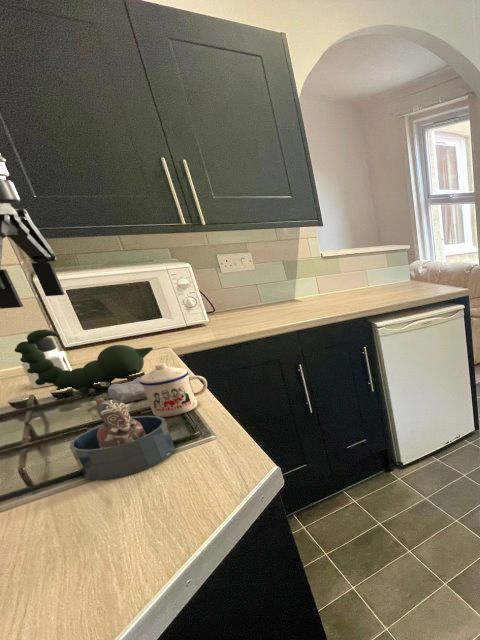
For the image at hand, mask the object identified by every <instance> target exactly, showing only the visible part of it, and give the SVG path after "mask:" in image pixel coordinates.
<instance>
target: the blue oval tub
mask: <svg viewBox="0 0 480 640" xmlns="http://www.w3.org/2000/svg"><path fill="white" fill-rule="evenodd" d="M131 418H132V419H135V420H137V421H138V422H139V423H140V424H141V425H142V427H143V429H144V431H145V433H146V435H145V436H143V437H140V438H138V439H136V440H133V441H129V442H126V443H123V444H120V445H116V446H111V447H107V448H100V446H99V442H98V438H97V433H98V430H99V428H100V426H101V425H100V426H96V427H94V428H92V429H89V430H87V431H85V432H83V433H82V434H80V435H78V436H76V437H75V438H74V439H73V440H72V441H70V444H69V449H70V451H71V453H72V455H73V457H74V459H75V462H76V463H77V466H78V467H79V469H80V472H81V473H82V475H83V476H84V477H85V478H87V479H89V480H95V481H105V480H113V479H119V478H123V477H126V476H130V475H133V474H136V473H140V472H142V471H144V470H147V469H150V468H151V467H154V466H156V465H158V464H160V463H162V462H163V461H165V460H166V459H168V458H169V457H170V456H171V455H172V454H173V453H174V451H175V448H176V447H175V444H174V441H173V437H172V436H171V432H170V430H169V428H168V425H167V423H166V420H165V417H159V416H155V415H143V416H133V417H131Z"/></svg>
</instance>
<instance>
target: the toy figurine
mask: <svg viewBox="0 0 480 640" xmlns="http://www.w3.org/2000/svg"><path fill="white" fill-rule="evenodd" d="M45 337H55V338H59V337H60V333H58V332H56V331H55V330H49V329H38V330H34V331H32V332H30V333H28V334H27V336H26V339H27V341H24V342H21V341H19V342H20V343H18V344H17V345H16V347H15V348H14V352H15V353H18V354H21V357H20V358H19V360H20V362H21V363H22V362H24V363H29V364H30V365H29V367H30V368H29V369H28V370H27V372H28V373H30V374H33V373H37V374H38V377H39V378H38V379H37V380H36V381H35V383H36V384H37V385H44V384H45V382H46V383H52V384H54V385H53V386H55V387H57V388H56V389H55V391H56V390H60V389H64V388H67V387H72V388H73V389H72V390H76V391H78V392H79V393H80V394H83V395H85V394H88V393H90V390H92V389H93V388H95V387H93V384H94V383H98V382H109V383H110V385H112V382H113V381H115V379H117V380H124V379H128V378H127V376H129V375H132V374H136V373H139V372H140V373H141V371H142V370H143V369H144V364H145V360H144V358H145V357H146V356H147V355H149V354H150V353H151V352H152V351H153V350H154V348H153V347H151V346H150V347H141V348H135V347H132V346H130V345H127V344H126V345H125V344H113V345H110V346H107V347H106V348H104V349H103V350H101V351H100V352H99V354H98V356H97V359H96V360H92V361H89V362H87V363H86V364H85V365H83V367H76V368H74V369H72V370H71V371H69V370H62V369H61V368H59V367H57V366H54V364H53V362H52V361H51V360H49V359H46V358H45V357H46V356H45V354H44V353H43V352H42V351H40V350H38V348H37V345H36V344H35V343H38V342H40V341H41V340H42V339H43V338H45ZM129 382H131V381H129ZM109 387H110V386H109ZM109 387H105V388H102V389H104V390H105V389H109Z"/></svg>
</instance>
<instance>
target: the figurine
mask: <svg viewBox="0 0 480 640" xmlns="http://www.w3.org/2000/svg"><path fill="white" fill-rule="evenodd" d="M95 401H96V404H97V409H96V411H97V414H98V416H99V417H100V419H101V420H102V422H103V423H102V424H101V425H100V428H99V430H98V433H97V438H98V442H99V446H100V448H107V447H111V446H116V445H120V444H123V443H126V442H129V441H133V440H136V439H138V438H140V437H143V436H145V435H146V433H145V431H144V429H143V427H142V425H141V424H140V423H139V422H138V421H137V420H135V419H132V418H133V417H131V414H130V412H129V411H128V409H127V407H126V404H125V403H121V402H120V401H117V400H114V399H108V400H105V399H104V398H98V399H96V400H95Z"/></svg>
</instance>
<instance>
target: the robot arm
mask: <svg viewBox="0 0 480 640" xmlns="http://www.w3.org/2000/svg"><path fill="white" fill-rule="evenodd" d="M6 161H7V159H6V158H5V157H3V156H2V155H1V154H0V310H1V309H3V310H4V309H15V308H23V307H24V304H23V302H22V301H21V298H20V296H19V294H18V292H17V290H16V288H15V284H14V283H13V281H12V279H11V277H10V274H9V272H8V270H7V269H6V268H3V269H2V258H3V257H2V255H3V246H4V245H3V244H4V239H5V238H9V239H10V240H12V242H14V243H15V244H16V245H17V246H18V247H19V248H20V249H21V250H22V251H23V252H24V253H25V254H26V256H28V257H29V258H30V259H31V260H32V261H33V262H31V263H30V264H31V267H32V269H33V271H34V273H35V275H36V278H37V281H38V282H39V284H40V287H41V289H42V291H43V293H44V296H45V297H57V296H64V295H65V291H64V289H63V287H62V284H61V282H60V280H59V277H58V275H57V272H56V271H55V267H54V266H53V264H52V263H53V262H57V261H58V258H57V255H56V253H55V251H54V249H52V247H51V246H50V245H49V243H48V242H47V240H46V239H45V238H44V236H43V234H42V233H41V232H40V230H39V229H38V227H37V226H36V225H35V224H34V222H33V221H32V219H31V216H30V215H29V213H28V211H27V210H26V209H25V208H14V207H13V205H12V204H18V203H20V202H21V198H20V196H19V193H18V191H17V189H16V186H15V184H14V182H13V181H12V180H9V179H7V178H8V177H9V176H10V173H9V171H8V168H7V166H6Z"/></svg>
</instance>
